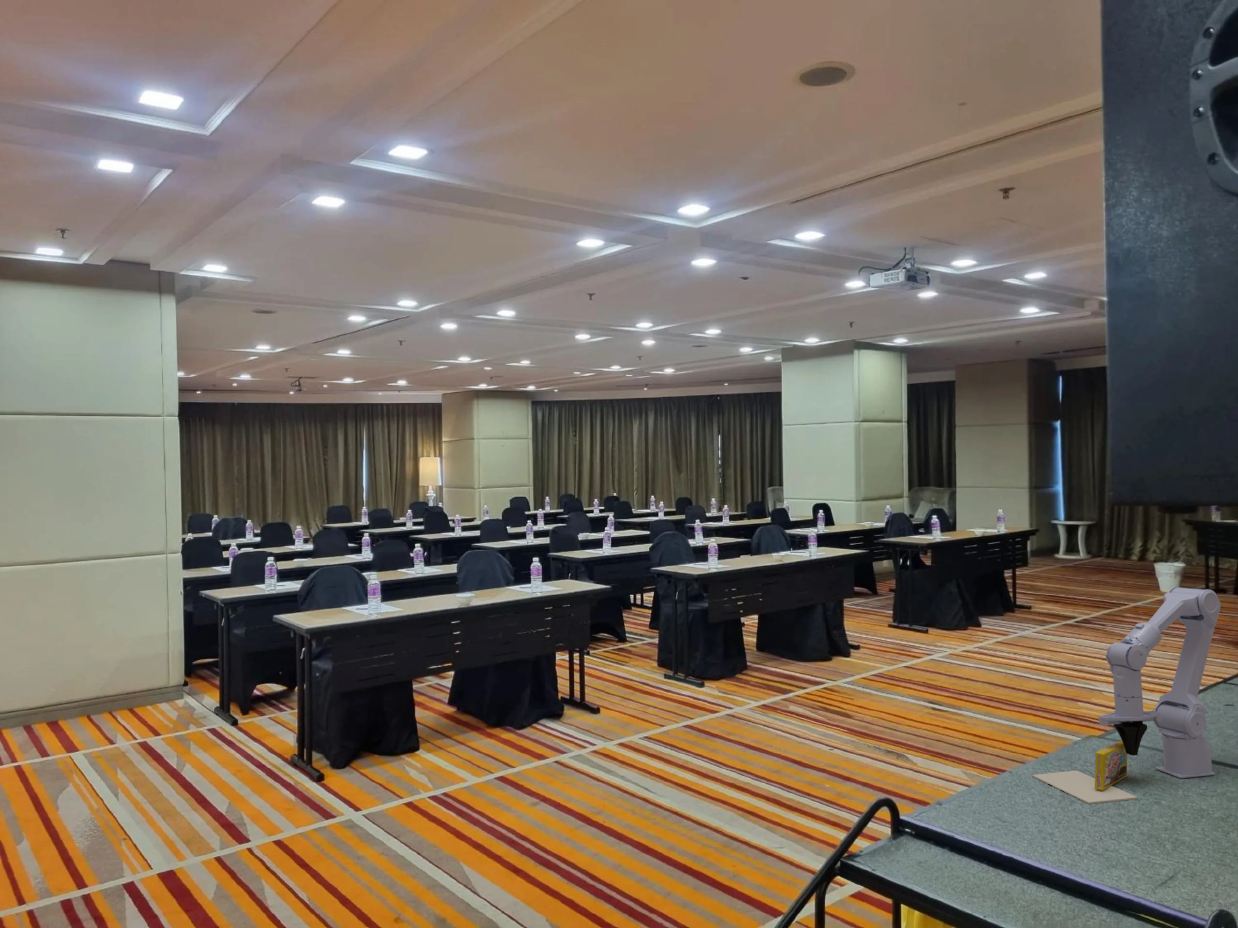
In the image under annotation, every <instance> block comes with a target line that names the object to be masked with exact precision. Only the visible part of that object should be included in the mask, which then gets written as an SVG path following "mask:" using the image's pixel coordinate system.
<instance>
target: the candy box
mask: <svg viewBox="0 0 1238 928" xmlns="http://www.w3.org/2000/svg"><path fill="white" fill-rule="evenodd" d="M1094 761H1095V767H1094V769H1095V770H1094V778H1095V789H1098V790H1104V789H1106V788H1107V787H1109V786H1113V785H1114V784H1116V783H1117V782H1120V781H1121V780H1123V779H1124V778H1126V777H1127V776H1128V754H1127V753H1126V750H1125V747H1124V744H1123V742H1122V740H1119V741H1115V743H1112V744H1110V745H1108V746H1106V747H1105V748H1102V749H1100V750H1098V751H1095V760H1094Z"/></svg>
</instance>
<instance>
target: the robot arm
mask: <svg viewBox="0 0 1238 928" xmlns="http://www.w3.org/2000/svg"><path fill="white" fill-rule="evenodd" d="M1221 607H1222V604H1221V601H1220V599H1219V597H1218V595H1217V594H1216V592H1215V591H1214V590H1213V589H1201V588H1200V589H1199V588H1198V589H1197V588H1186V587H1180V586H1173V587H1170V589H1169V590H1167V592H1166V593H1164V595H1163V603H1162V604H1161V605H1160V607H1159V608H1158V609H1157V611H1156V612H1155V613H1154V614H1152V615H1153V616H1151V617H1150V619H1149V620H1148V621H1147V622H1139V623H1136V624H1135V625H1134V628H1133V629H1132V630H1131V631H1130V632H1129V633H1128V634H1126V636H1125V637H1124V638H1123V639H1122V640H1121V641H1120V642H1118V641H1117V642H1114V643H1112V644H1110V645H1109V646H1108V648H1107V650H1106V654H1105V660H1106V662H1107V664H1108V665H1109V668H1110V669H1109V670H1110V672H1111V674H1112V676H1113V677H1112V679H1113V680H1112V681H1113V694H1114V695H1113V696H1114V697H1113V698H1114V708H1115V710H1114V711H1113V712H1111V713H1108V714H1107V713H1106V714H1102V715H1098V724H1099V725H1100V726H1103V727H1109V726H1111V725H1113V727H1114V728H1115V730H1116V732H1117V733H1118V735H1119V737H1120V739H1121V741H1122V742H1123V744H1124V747H1125V750H1126V753H1127V755H1130V756H1132V757H1134V756H1138V754H1139V751H1140V750H1139V749H1140V744H1141V743H1142V742H1141V741H1142V739H1143V737H1144V735H1145V733H1146V731H1147V730H1148V724H1146V722H1153V724H1154V726H1155V727H1157V728H1158V733H1161V735H1162V736H1161V737H1162V752H1163V755H1162V756H1163V765H1158V766H1155V767H1154V769H1155V770H1158V771H1161V772H1162V773H1166V774H1168V775H1172V776H1174V777H1176V778H1179V779H1185V778H1187V779H1188V778H1196V777H1207V776H1214V775H1216V772H1214V771H1213V765H1212V762H1213V761H1212V750H1211V744H1210V742H1209V740H1208V738H1206V736H1205V735H1203V733H1204V731H1205V730H1206V726H1207V722H1206V712H1207V708H1206V707H1205V705H1204V704H1203V703H1202V702H1201V701H1200V700H1199V699H1198V695H1199V691H1200V687H1201V684H1202V681H1203V680H1202V679H1203V676H1204V675H1203V674H1204V672H1205V668H1206V664H1207V661H1208V660H1207V659H1208V655H1209V651H1210V647H1211V644H1212V639H1213V636H1214V631H1215V627H1216V626H1217V622H1218V619H1219V614H1220V611H1221ZM1176 621H1179V623H1181V624H1182V625H1184V627H1185V628H1186V631H1185V635H1184V640H1183V642H1182V643H1183V644H1182V648H1181V651H1180V655H1179V658H1178V662H1177V663H1178V664H1177V667H1176V671H1175V675H1174V678H1173V683H1172V687H1171V690H1170V691H1168V692H1165V693H1164V694H1162V695H1160V696H1159V700H1158V702H1157V704H1156V706H1155V707H1154V708H1153V710H1150V711H1149V710H1148V711H1144V700H1143V685H1142V669H1143V668H1145V666H1146V664H1147V659H1148V657H1149V655H1150V652H1151V651H1153V649H1154V648H1155V647H1157V645H1158V644H1159V643H1160V642H1161V641H1162V634H1161V633H1163V632H1164V631H1165V630H1166V629H1167V628H1168V627H1170V626H1171V625H1172V624H1173V623H1175V622H1176Z"/></svg>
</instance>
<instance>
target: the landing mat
mask: <svg viewBox="0 0 1238 928" xmlns="http://www.w3.org/2000/svg"><path fill="white" fill-rule="evenodd" d="M1031 777H1032V778H1034V779H1036V780H1038V781H1039V782H1042V783H1044V784H1046V783H1047V784H1046V785H1048V784H1050V785H1052V786H1054V787H1056V788H1058V789H1059V790H1058V789H1057V790H1058V791H1060V790H1062V791H1064V792H1066V793H1068V794H1067V795H1069V794H1070V795H1069V796H1070V797H1073V796H1074V797H1073V798H1075V797H1076V798H1075V799H1077V800H1079V799H1080V800H1079V801H1081V802H1083V803H1085V804H1087V805H1093V804H1095V805H1096V804H1102V803H1103V804H1104V803H1112V802H1122V801H1133V800H1134V801H1135V800H1138V799H1139V798H1138V797H1137V796H1136V795H1134V794H1131V793H1129V792H1127V791H1125V790H1123V789H1119V788H1118V787H1115V786H1113V785H1111V786H1109V787H1107V788H1106V789H1104V790H1098V789H1095V777H1093V776H1090V775H1088V774H1086V773H1084V772H1081V771H1079V770H1072V771H1071V770H1069V771H1058V772H1049V773H1038V774H1032V775H1031ZM1050 785H1049V786H1050ZM1052 786H1051V787H1052ZM1054 787H1053V788H1054ZM1056 788H1055V789H1056ZM1062 791H1061V792H1062ZM1064 792H1063V793H1064ZM1066 793H1065V794H1066Z"/></svg>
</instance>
